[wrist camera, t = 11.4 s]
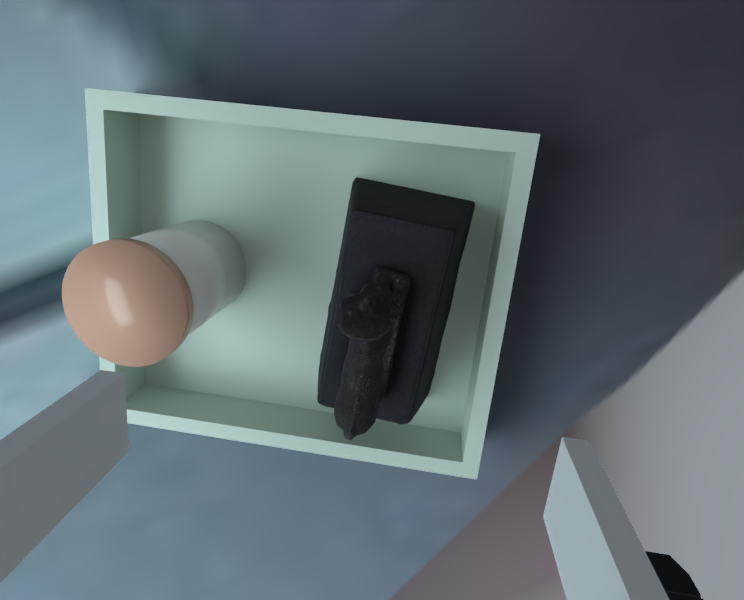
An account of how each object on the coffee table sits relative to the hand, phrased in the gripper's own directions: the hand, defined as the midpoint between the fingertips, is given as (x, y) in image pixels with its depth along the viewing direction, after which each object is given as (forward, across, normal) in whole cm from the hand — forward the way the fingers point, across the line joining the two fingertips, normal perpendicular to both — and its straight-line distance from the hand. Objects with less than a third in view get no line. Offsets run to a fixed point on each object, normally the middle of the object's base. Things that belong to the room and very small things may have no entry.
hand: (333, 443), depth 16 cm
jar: (+18, -12, 0) cm, 22 cm away
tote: (+19, -5, 0) cm, 20 cm away
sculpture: (+18, 0, -1) cm, 18 cm away
